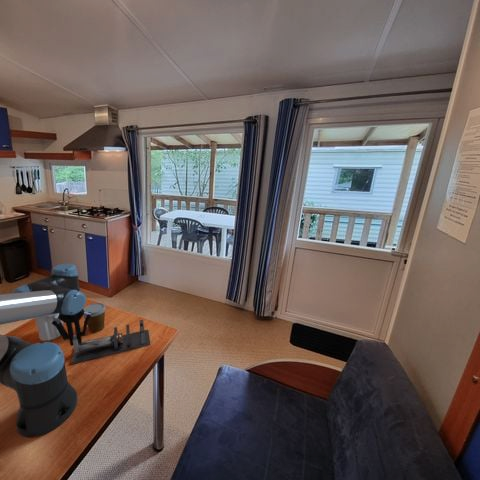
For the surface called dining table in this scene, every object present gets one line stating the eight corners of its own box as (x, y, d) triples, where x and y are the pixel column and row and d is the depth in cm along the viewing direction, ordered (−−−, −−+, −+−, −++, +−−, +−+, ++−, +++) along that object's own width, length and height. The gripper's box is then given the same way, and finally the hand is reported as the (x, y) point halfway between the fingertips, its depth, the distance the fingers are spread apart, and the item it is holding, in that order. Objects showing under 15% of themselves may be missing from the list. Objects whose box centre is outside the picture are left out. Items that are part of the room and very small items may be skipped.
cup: (29, 342, 99) (21, 309, 94) (50, 326, 110) (44, 295, 105) (54, 344, 100) (48, 311, 95) (73, 327, 110) (68, 297, 105)
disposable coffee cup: (81, 330, 109) (77, 309, 106) (100, 320, 117) (97, 300, 114) (93, 337, 105) (90, 316, 102) (112, 326, 114) (110, 306, 110)
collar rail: (150, 344, 104) (149, 329, 102) (71, 364, 90) (68, 348, 88) (148, 331, 113) (147, 317, 110) (75, 347, 99) (73, 332, 97)
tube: (79, 355, 94) (78, 346, 92) (81, 348, 97) (80, 339, 96) (122, 344, 101) (121, 336, 100) (122, 338, 105) (121, 330, 103)
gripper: (90, 294, 94) (96, 340, 101) (51, 300, 88) (60, 348, 95) (88, 303, 88) (94, 351, 95) (45, 310, 82) (56, 361, 89)
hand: (77, 350), depth 95 cm, fingers closed
